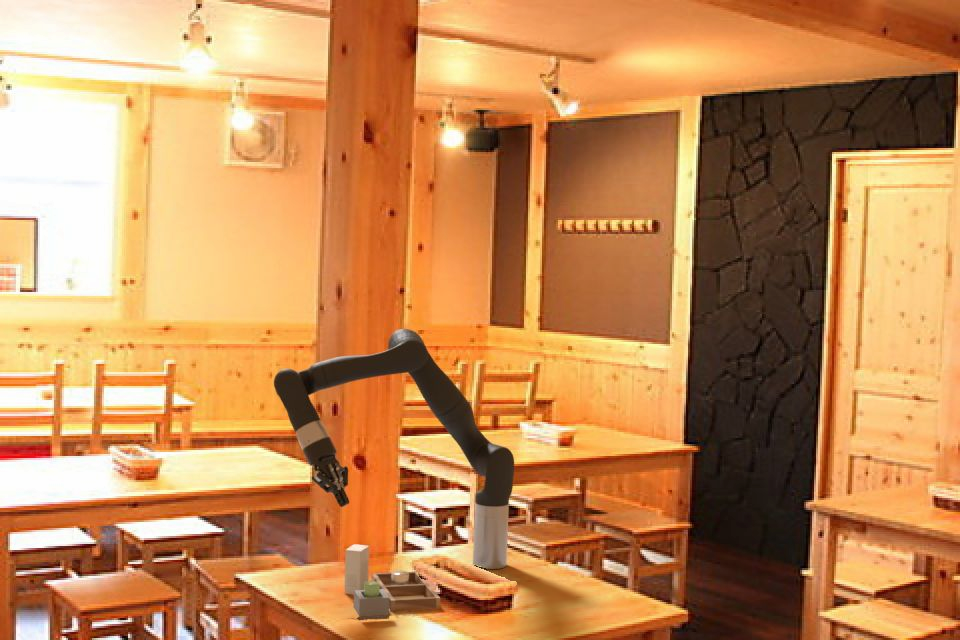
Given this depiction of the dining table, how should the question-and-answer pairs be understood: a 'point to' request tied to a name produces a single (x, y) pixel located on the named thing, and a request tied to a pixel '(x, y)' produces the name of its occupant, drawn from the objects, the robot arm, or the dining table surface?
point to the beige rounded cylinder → (399, 578)
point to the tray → (408, 593)
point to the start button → (371, 589)
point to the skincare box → (356, 568)
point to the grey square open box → (371, 605)
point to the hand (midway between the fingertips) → (345, 505)
